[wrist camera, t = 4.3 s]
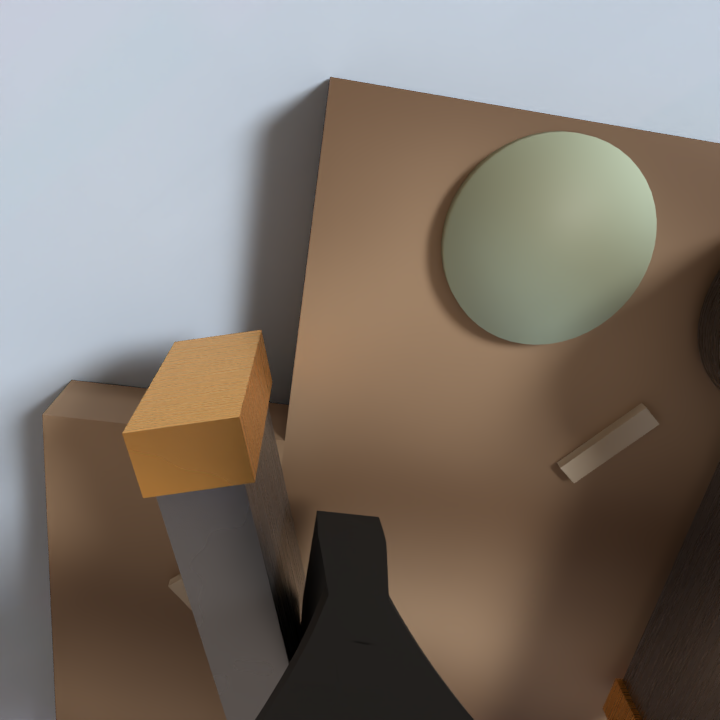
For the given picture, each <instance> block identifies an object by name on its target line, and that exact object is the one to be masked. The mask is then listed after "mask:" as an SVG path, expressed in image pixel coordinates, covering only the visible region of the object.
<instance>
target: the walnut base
mask: <svg viewBox="0 0 720 720" xmlns="http://www.w3.org/2000/svg"><path fill="white" fill-rule="evenodd" d="M719 270H720V143H714V142H708V141H702V140H696V139H691V138H685V137H679V136H673V135H667V134H661V133H655V132H650V131H644V130H638V129H632V128H626V127H620V126H614V125H609V124H603V123H597V122H591V121H585V120H579V119H574V118H568V117H562V116H556V115H550V114H544V113H538V112H533V111H527V110H521V109H515V108H509V107H503V106H497V105H492V104H486V103H480V102H474V101H468V100H462V99H457V98H451V97H445V96H439V95H433V94H427V93H421V92H416V91H410V90H404V89H398V88H392V87H386V86H380V85H375V84H369V83H363V82H357V81H351V80H345V79H340V78H334V77H330V81H329V89H328V97H327V105H326V113H325V121H324V129H323V137H322V145H321V153H320V161H319V168H318V176H317V184H316V192H315V200H314V208H313V216H312V224H311V232H310V240H309V248H308V256H307V264H306V272H305V280H304V288H303V296H302V304H301V311H300V319H299V327H298V335H297V343H296V351H295V359H294V367H293V375H292V383H291V391H290V399H289V405H287V404H278V403H269V404H268V406H269V411H270V416H271V420H272V425H273V430H274V434H275V439H276V444H277V448H278V453H279V457H280V462H281V467H282V471H283V476H284V481H285V485H286V490H287V495H288V499H289V504H290V509H291V513H292V518H293V523H294V527H295V532H296V537H297V541H298V546H299V550H300V555H301V560H302V564H303V569H304V574H305V578H306V575H307V569H308V562H309V556H310V550H311V544H312V538H313V532H314V525H315V519H316V513H317V511H326V512H336V513H346V514H356V515H365V516H375V517H379V519H380V522H381V525H382V528H383V531H384V535H385V539H386V545H387V565H388V588H389V596H390V598H391V600H392V602H393V603H394V605H395V607H396V609H397V611H398V612H399V614H400V616H401V617H402V619H403V621H404V623H405V624H406V626H407V627H408V629H409V631H410V632H411V634H412V635H413V637H414V639H415V640H416V642H417V643H418V645H419V646H420V648H421V649H422V651H423V653H424V654H425V656H426V657H427V658H428V660H429V661H430V663H431V664H432V666H433V667H434V669H435V670H436V671H437V673H438V674H439V675H440V677H441V678H442V679H443V681H444V682H445V683H446V685H447V686H448V688H449V689H450V690H451V691H452V693H453V694H454V695H455V697H456V698H457V699H458V700H459V702H460V703H461V704H462V705H463V707H464V708H465V709H466V710H467V712H468V713H469V714H470V715H471V717H472V718H473V719H474V720H607V717H606V715H605V713H604V711H603V706H604V703H605V701H606V699H607V697H608V694H609V692H610V690H611V687H612V685H613V683H614V680H615V678H620V679H623V678H624V676H625V674H626V671H627V669H628V667H629V665H630V662H631V660H632V658H633V655H634V653H635V651H636V649H637V646H638V644H639V642H640V640H641V637H642V635H643V633H644V631H645V628H646V626H647V624H648V621H649V619H650V617H651V615H652V612H653V610H654V608H655V606H656V603H657V601H658V599H659V597H660V594H661V592H662V590H663V587H664V585H665V583H666V581H667V578H668V576H669V574H670V572H671V569H672V567H673V565H674V562H675V560H676V558H677V556H678V553H679V551H680V549H681V547H682V544H683V542H684V540H685V538H686V535H687V533H688V531H689V528H690V526H691V524H692V522H693V519H694V517H695V515H696V513H697V510H698V508H699V506H700V503H701V501H702V499H703V497H704V494H705V492H706V490H707V488H708V485H709V483H710V481H711V479H712V476H713V474H714V472H715V469H716V467H717V465H718V463H719V460H720V390H719V389H718V388H717V387H716V386H715V385H714V384H713V382H712V381H711V379H710V378H709V376H708V375H707V373H706V371H705V369H704V367H703V364H702V362H701V358H700V354H699V349H698V339H697V337H698V323H699V317H700V312H701V309H702V305H703V302H704V299H705V296H706V294H707V292H708V290H709V288H710V285H711V283H712V282H713V280H714V278H715V276H716V275H717V273H718V271H719ZM146 391H147V389H146V388H137V387H129V386H120V385H111V384H102V383H93V382H85V381H76V380H71V382H70V383H69V384H68V385H67V386H66V387H65V389H64V390H63V391H62V392H61V393H60V394H59V396H58V397H57V398H56V399H55V400H54V402H53V403H52V404H51V405H50V406H49V407H48V409H47V410H46V411H45V412H44V413H43V415H42V417H43V440H44V462H45V484H46V507H47V529H48V551H49V573H50V596H51V618H52V640H53V663H54V685H55V707H56V720H227V719H226V716H225V713H224V710H223V706H222V703H221V700H220V697H219V694H218V691H217V688H216V684H215V681H214V678H213V675H212V672H211V669H210V665H209V662H208V659H207V656H206V653H205V650H204V647H203V643H202V640H201V637H200V634H199V631H198V628H197V624H196V621H195V618H194V615H193V612H192V609H191V605H190V602H189V599H188V596H187V593H186V590H185V587H184V583H183V580H182V577H181V574H180V571H179V568H178V564H177V561H176V558H175V555H174V552H173V549H172V546H171V542H170V539H169V536H168V533H167V530H166V527H165V523H164V520H163V517H162V514H161V511H160V508H159V505H158V501H157V498H156V496H155V497H148V498H143V496H142V493H141V490H140V487H139V484H138V481H137V478H136V475H135V472H134V468H133V465H132V462H131V459H130V456H129V453H128V450H127V447H126V444H125V441H124V438H123V435H122V433H123V431H124V429H125V428H126V426H127V424H128V422H129V421H130V419H131V417H132V415H133V414H134V412H135V410H136V408H137V407H138V405H139V403H140V402H141V400H142V398H143V396H144V395H145V393H146Z"/></svg>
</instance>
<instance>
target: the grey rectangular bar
mask: <svg viewBox="0 0 720 720" xmlns="http://www.w3.org/2000/svg"><path fill="white" fill-rule="evenodd" d="M271 387H272V378H271V373H270V368H269V363H268V359H267V354H266V349H265V344H264V339H263V335H262V330H256V331H249V332H242V333H235V334H228V335H221V336H214V337H207V338H200V339H192V340H185V341H178V342H175V343H174V344H173V346H172V348H171V349H170V351H169V353H168V355H167V356H166V358H165V360H164V362H163V363H162V365H161V367H160V369H159V370H158V372H157V374H156V375H155V377H154V379H153V381H152V382H151V384H150V386H149V388H148V389H147V391H146V393H145V395H144V396H143V398H142V400H141V402H140V403H139V405H138V407H137V408H136V410H135V412H134V414H133V415H132V417H131V419H130V421H129V422H128V424H127V426H126V428H125V429H124V431H123V433H122V435H123V438H124V441H125V444H126V447H127V450H128V453H129V456H130V459H131V462H132V465H133V468H134V472H135V475H136V478H137V481H138V484H139V487H140V490H141V493H142V496H143V498H148V497H155V496H156V498H157V501H158V505H159V508H160V511H161V514H162V517H163V520H164V523H165V527H166V530H167V533H168V536H169V539H170V542H171V546H172V549H173V552H174V555H175V558H176V561H177V564H178V568H179V571H180V574H181V577H182V580H183V583H184V587H185V590H186V593H187V596H188V599H189V602H190V605H191V609H192V612H193V615H194V618H195V621H196V624H197V628H198V631H199V634H200V637H201V640H202V643H203V647H204V650H205V653H206V656H207V659H208V662H209V665H210V669H211V672H212V675H213V678H214V681H215V684H216V688H217V691H218V694H219V697H220V700H221V703H222V706H223V710H224V713H225V716H226V719H227V720H255V719H256V717H257V716H258V714H259V713H260V711H261V710H262V708H263V707H264V705H265V703H266V702H267V700H268V698H269V697H270V695H271V694H272V692H273V690H274V689H275V687H276V685H277V684H278V682H279V680H280V679H281V677H282V675H283V674H284V672H285V670H286V668H287V667H288V665H289V663H290V661H291V659H292V657H293V656H294V654H295V652H296V650H297V648H298V646H299V644H300V631H301V615H302V602H303V593H304V587H305V581H306V578H305V574H304V569H303V564H302V560H301V555H300V550H299V546H298V541H297V537H296V532H295V527H294V523H293V518H292V513H291V509H290V504H289V499H288V495H287V490H286V485H285V481H284V476H283V471H282V467H281V462H280V457H279V453H278V448H277V444H276V439H275V434H274V430H273V425H272V420H271V416H270V411H269V406H268V404H269V398H270V393H271Z"/></svg>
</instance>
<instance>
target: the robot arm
mask: <svg viewBox="0 0 720 720" xmlns="http://www.w3.org/2000/svg"><path fill="white" fill-rule="evenodd" d="M255 720H474V719H473V718H472V717H471V715H470V714H469V713H468V712H467V710H466V709H465V708H464V707H463V705H462V704H461V703H460V702H459V700H458V699H457V698H456V697H455V695H454V694H453V693H452V691H451V690H450V689H449V688H448V686H447V685H446V683H445V682H444V681H443V679H442V678H441V677H440V675H439V674H438V673H437V671H436V670H435V669H434V667H433V666H432V664H431V663H430V661H429V660H428V658H427V657H426V656H425V654H424V653H423V651H422V649H421V648H420V646H419V645H418V643H417V642H416V640H415V639H414V637H413V635H412V634H411V632H410V631H409V629H408V627H407V626H406V624H405V623H404V621H403V619H402V617H401V616H400V614H399V612H398V611H397V609H396V607H395V605H394V603H393V602H392V600H391V598H390V596H389V588H388V565H387V545H386V539H385V535H384V531H383V528H382V525H381V522H380V519H379V517H375V516H365V515H356V514H346V513H336V512H326V511H317V513H316V519H315V525H314V532H313V538H312V544H311V550H310V556H309V562H308V569H307V575H306V581H305V587H304V593H303V602H302V615H301V631H300V644H299V646H298V648H297V650H296V652H295V654H294V656H293V657H292V659H291V661H290V663H289V665H288V667H287V668H286V670H285V672H284V674H283V675H282V677H281V679H280V680H279V682H278V684H277V685H276V687H275V689H274V690H273V692H272V694H271V695H270V697H269V698H268V700H267V702H266V703H265V705H264V707H263V708H262V710H261V711H260V713H259V714H258V716H257V717H256V719H255Z"/></svg>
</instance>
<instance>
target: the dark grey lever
mask: <svg viewBox="0 0 720 720" xmlns="http://www.w3.org/2000/svg"><path fill="white" fill-rule="evenodd" d="M697 339H698V349H699V354H700V358H701V362H702V364H703V367H704V369H705V371H706V373H707V375H708V376H709V378H710V379H711V381H712V382H713V384H714V385H715V386H716V387H717V388H718V389H719V390H720V270H719V271H718V273H717V275H716V276H715V278H714V280H713V282H712V283H711V285H710V288H709V290H708V292H707V294H706V296H705V299H704V302H703V305H702V309H701V312H700V317H699V323H698V337H697ZM603 711H604V713H605V715H606V717H607V720H720V460H719V463H718V465H717V467H716V469H715V472H714V474H713V476H712V479H711V481H710V483H709V485H708V488H707V490H706V492H705V494H704V497H703V499H702V501H701V503H700V506H699V508H698V510H697V513H696V515H695V517H694V519H693V522H692V524H691V526H690V528H689V531H688V533H687V535H686V538H685V540H684V542H683V544H682V547H681V549H680V551H679V553H678V556H677V558H676V560H675V562H674V565H673V567H672V569H671V572H670V574H669V576H668V578H667V581H666V583H665V585H664V587H663V590H662V592H661V594H660V597H659V599H658V601H657V603H656V606H655V608H654V610H653V612H652V615H651V617H650V619H649V621H648V624H647V626H646V628H645V631H644V633H643V635H642V637H641V640H640V642H639V644H638V646H637V649H636V651H635V653H634V655H633V658H632V660H631V662H630V665H629V667H628V669H627V671H626V674H625V676H624V678H623V679H620V678H615V680H614V683H613V685H612V687H611V690H610V692H609V694H608V697H607V699H606V701H605V703H604V706H603Z"/></svg>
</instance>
